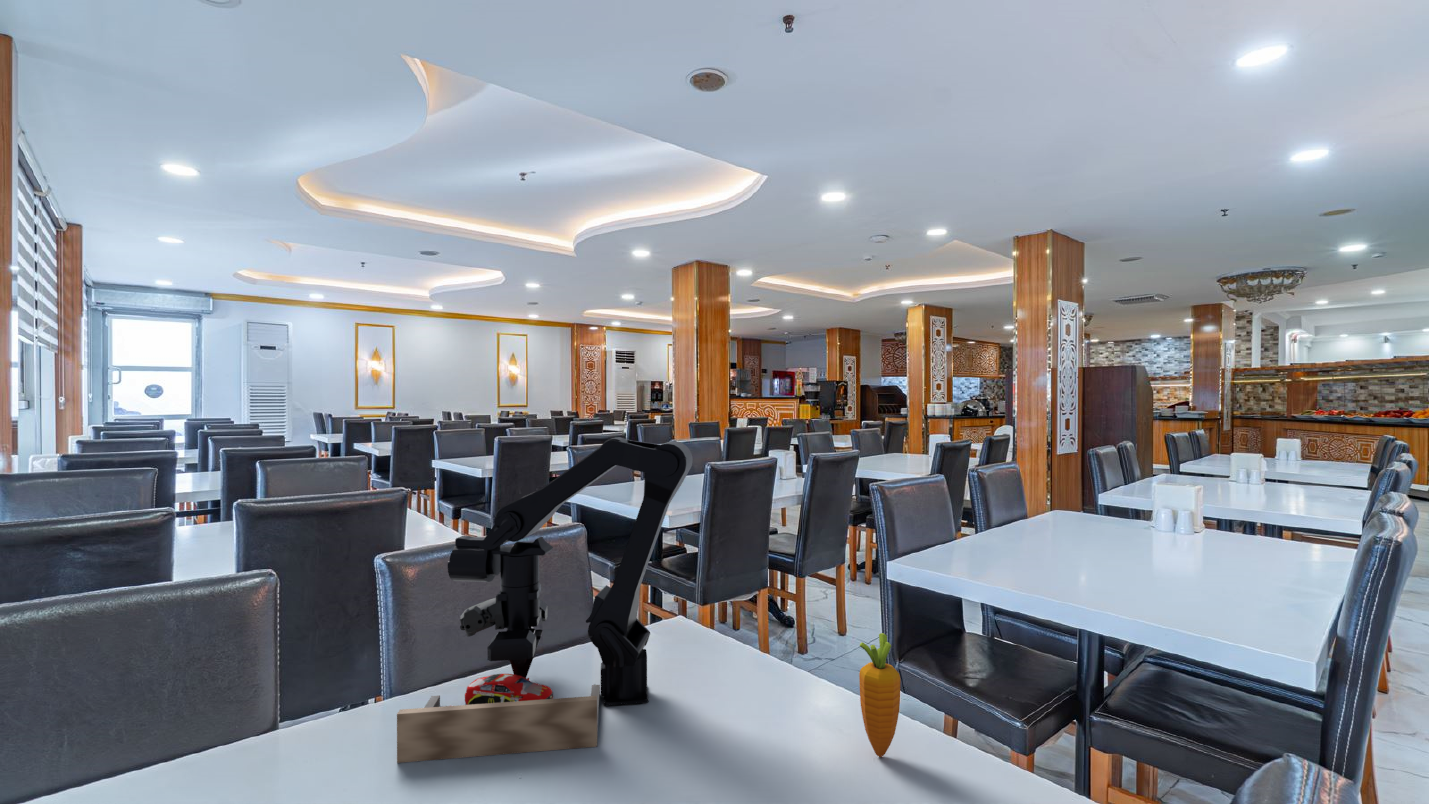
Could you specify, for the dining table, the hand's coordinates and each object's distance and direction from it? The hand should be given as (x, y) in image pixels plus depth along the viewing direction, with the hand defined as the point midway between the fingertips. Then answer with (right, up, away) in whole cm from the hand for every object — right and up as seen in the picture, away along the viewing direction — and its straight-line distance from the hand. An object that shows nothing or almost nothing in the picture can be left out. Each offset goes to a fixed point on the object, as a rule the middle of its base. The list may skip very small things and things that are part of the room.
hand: (520, 683), depth 100 cm
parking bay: (+2, -1, -11) cm, 11 cm away
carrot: (+50, -1, -19) cm, 54 cm away
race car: (0, -2, -4) cm, 4 cm away
